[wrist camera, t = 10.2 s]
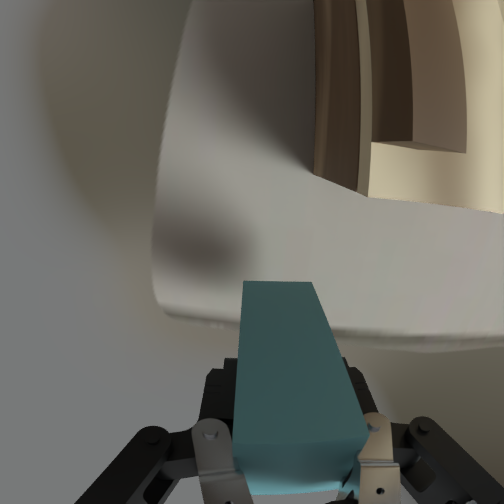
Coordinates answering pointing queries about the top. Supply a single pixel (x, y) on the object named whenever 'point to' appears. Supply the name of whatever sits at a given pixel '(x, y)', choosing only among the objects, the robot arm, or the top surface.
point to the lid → (432, 101)
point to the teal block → (292, 394)
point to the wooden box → (337, 92)
